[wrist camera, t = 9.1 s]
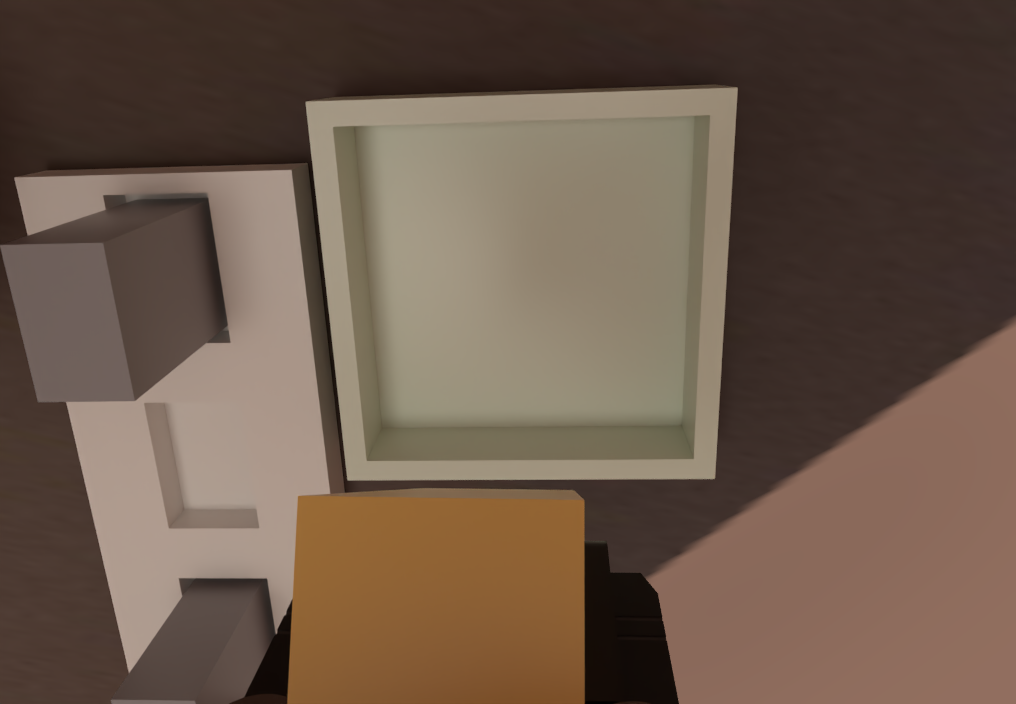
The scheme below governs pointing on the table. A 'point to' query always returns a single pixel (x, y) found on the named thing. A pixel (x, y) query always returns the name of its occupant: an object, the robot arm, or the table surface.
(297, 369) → the fuse holder
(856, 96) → the table surface
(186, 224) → the block
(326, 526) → the block
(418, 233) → the parts tray
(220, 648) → the block
